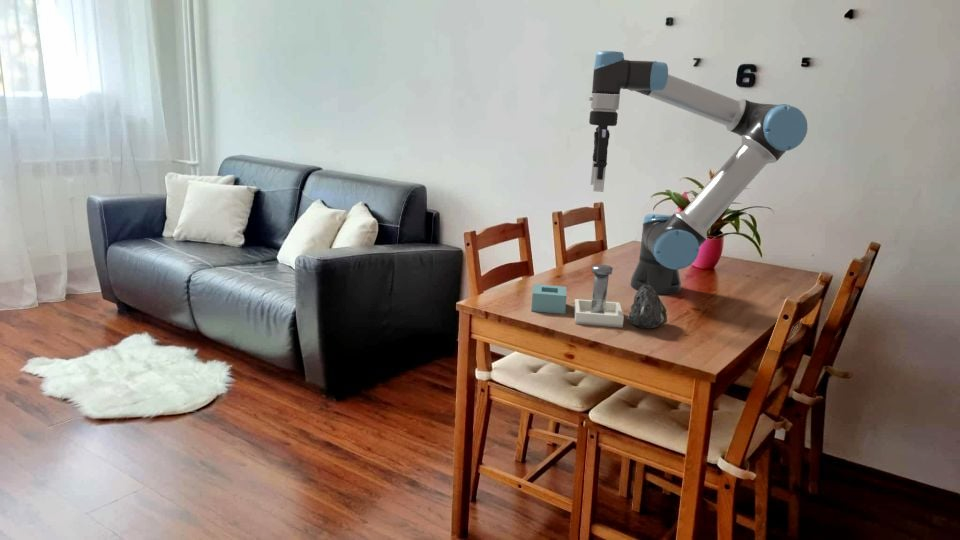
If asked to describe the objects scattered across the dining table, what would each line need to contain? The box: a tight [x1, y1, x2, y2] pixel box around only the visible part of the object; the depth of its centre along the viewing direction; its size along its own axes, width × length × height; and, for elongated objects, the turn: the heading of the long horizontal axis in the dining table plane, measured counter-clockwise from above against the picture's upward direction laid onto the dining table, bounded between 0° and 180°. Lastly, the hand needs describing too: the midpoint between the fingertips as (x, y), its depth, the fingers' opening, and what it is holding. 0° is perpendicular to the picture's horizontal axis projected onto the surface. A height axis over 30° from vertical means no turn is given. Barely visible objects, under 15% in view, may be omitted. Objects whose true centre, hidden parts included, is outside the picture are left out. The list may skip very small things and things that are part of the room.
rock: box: [626, 285, 668, 329], centre depth 174 cm, size 12×10×10 cm
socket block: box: [531, 283, 567, 315], centre depth 185 cm, size 9×9×5 cm
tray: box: [573, 298, 624, 328], centre depth 178 cm, size 12×12×3 cm
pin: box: [591, 264, 613, 314], centre depth 176 cm, size 5×5×13 cm
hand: (596, 188), depth 190 cm, fingers open, 13 cm apart
